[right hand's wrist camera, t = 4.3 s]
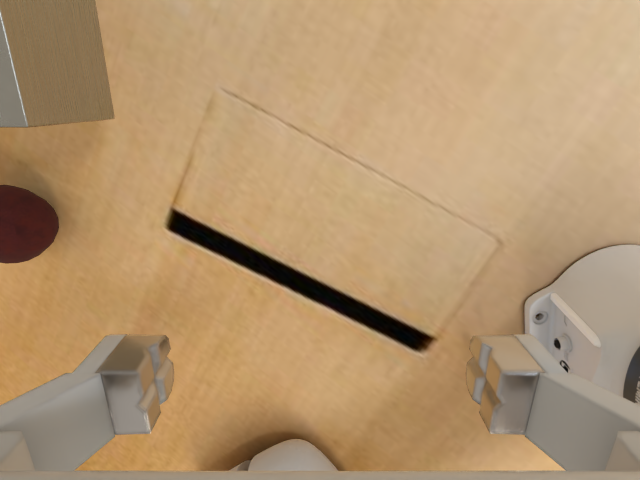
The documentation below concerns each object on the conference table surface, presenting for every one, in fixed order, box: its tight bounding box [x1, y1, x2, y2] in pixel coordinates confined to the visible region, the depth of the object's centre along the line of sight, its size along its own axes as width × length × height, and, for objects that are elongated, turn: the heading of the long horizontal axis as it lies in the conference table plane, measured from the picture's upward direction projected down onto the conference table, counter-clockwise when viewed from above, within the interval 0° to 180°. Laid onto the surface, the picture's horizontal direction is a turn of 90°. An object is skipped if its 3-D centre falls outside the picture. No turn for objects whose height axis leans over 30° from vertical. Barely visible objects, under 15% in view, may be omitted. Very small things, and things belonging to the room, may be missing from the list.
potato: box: [0, 185, 59, 263], centre depth 36 cm, size 7×8×7 cm
